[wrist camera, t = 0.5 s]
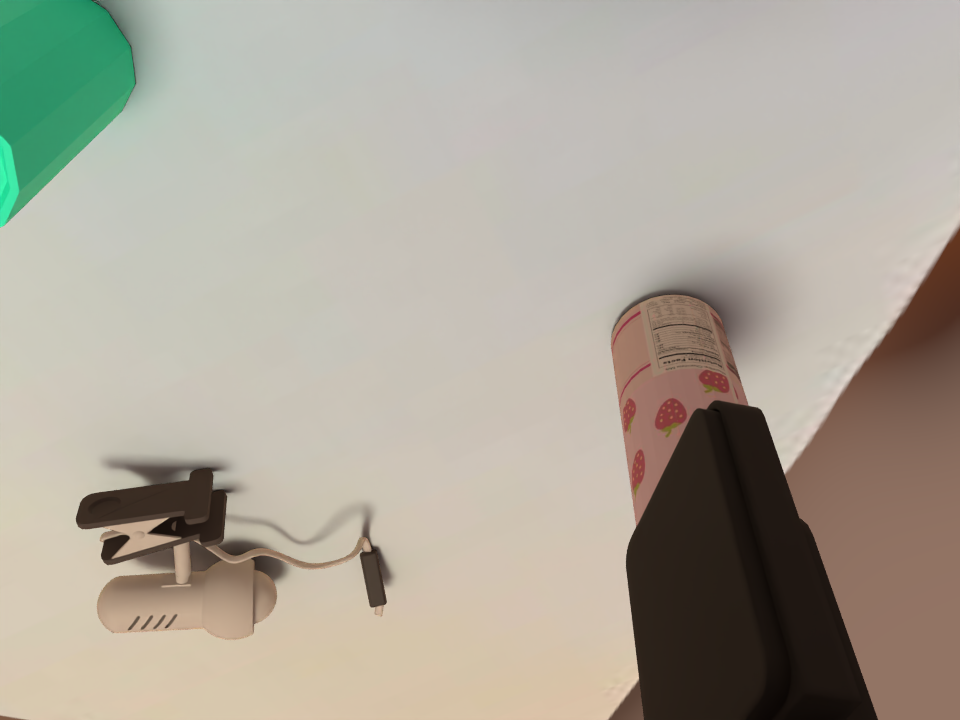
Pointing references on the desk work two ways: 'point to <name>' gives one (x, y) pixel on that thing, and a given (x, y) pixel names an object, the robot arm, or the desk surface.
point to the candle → (55, 89)
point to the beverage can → (667, 380)
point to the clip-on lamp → (185, 594)
